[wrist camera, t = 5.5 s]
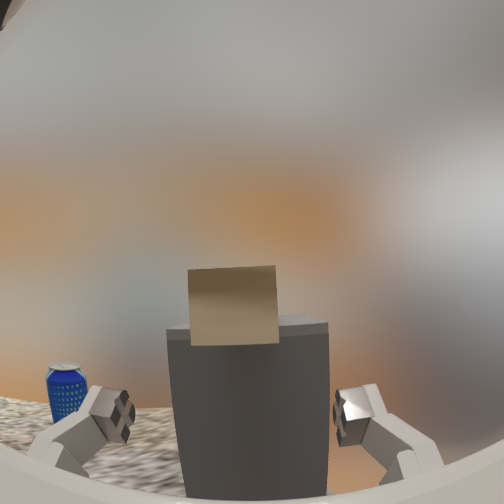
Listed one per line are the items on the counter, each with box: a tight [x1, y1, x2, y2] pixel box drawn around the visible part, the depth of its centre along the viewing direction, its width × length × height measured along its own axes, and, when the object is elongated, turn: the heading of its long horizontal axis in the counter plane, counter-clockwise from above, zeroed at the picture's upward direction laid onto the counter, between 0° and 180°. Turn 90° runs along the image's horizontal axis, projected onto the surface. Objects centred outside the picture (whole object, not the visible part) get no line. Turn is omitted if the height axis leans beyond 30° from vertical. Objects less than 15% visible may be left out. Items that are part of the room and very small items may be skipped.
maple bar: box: [188, 265, 279, 346], centre depth 25 cm, size 24×4×4 cm, turn 178°
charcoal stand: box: [166, 314, 330, 501], centre depth 27 cm, size 14×12×26 cm
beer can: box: [46, 363, 88, 424], centre depth 45 cm, size 8×8×16 cm
